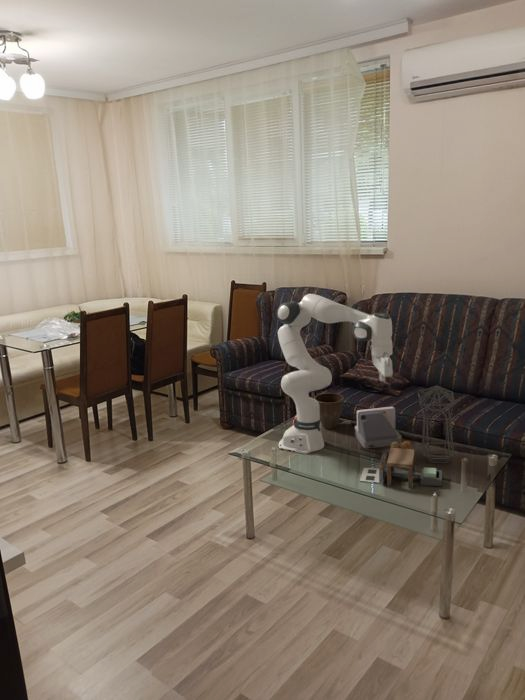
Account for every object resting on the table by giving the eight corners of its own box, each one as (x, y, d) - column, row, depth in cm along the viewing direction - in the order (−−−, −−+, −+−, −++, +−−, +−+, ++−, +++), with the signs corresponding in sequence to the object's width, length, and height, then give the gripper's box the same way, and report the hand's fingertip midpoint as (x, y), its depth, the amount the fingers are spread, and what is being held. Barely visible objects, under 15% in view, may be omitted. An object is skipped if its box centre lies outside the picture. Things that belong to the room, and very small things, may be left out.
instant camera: (395, 430, 286) (395, 402, 282) (403, 447, 266) (403, 418, 262) (353, 432, 288) (353, 404, 284) (358, 449, 268) (358, 420, 264)
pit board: (359, 481, 238) (359, 480, 237) (363, 468, 249) (363, 467, 248) (378, 483, 235) (378, 482, 235) (382, 470, 246) (382, 468, 246)
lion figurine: (397, 463, 251) (397, 445, 249) (387, 460, 255) (387, 441, 253) (416, 452, 260) (416, 434, 258) (406, 449, 264) (406, 431, 262)
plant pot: (330, 418, 306) (329, 390, 302) (350, 426, 295) (349, 397, 290) (310, 426, 298) (308, 397, 294) (329, 434, 286) (328, 405, 282)
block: (423, 483, 233) (423, 472, 232) (423, 478, 237) (423, 467, 236) (435, 484, 231) (436, 473, 230) (436, 479, 236) (436, 468, 235)
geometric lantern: (457, 467, 244) (457, 391, 235) (420, 467, 247) (418, 392, 238) (453, 451, 259) (453, 379, 249) (418, 451, 262) (416, 380, 253)
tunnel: (387, 485, 233) (386, 462, 230) (390, 469, 246) (390, 447, 243) (412, 488, 230) (412, 464, 227) (414, 471, 243) (414, 449, 240)
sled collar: (379, 484, 234) (379, 467, 232) (383, 468, 247) (382, 452, 245) (441, 489, 226) (441, 472, 224) (441, 473, 239) (442, 457, 237)
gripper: (396, 355, 235) (396, 387, 239) (382, 343, 255) (383, 373, 258) (381, 357, 235) (381, 388, 238) (369, 345, 254) (369, 374, 258)
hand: (382, 380), depth 248 cm, fingers closed
